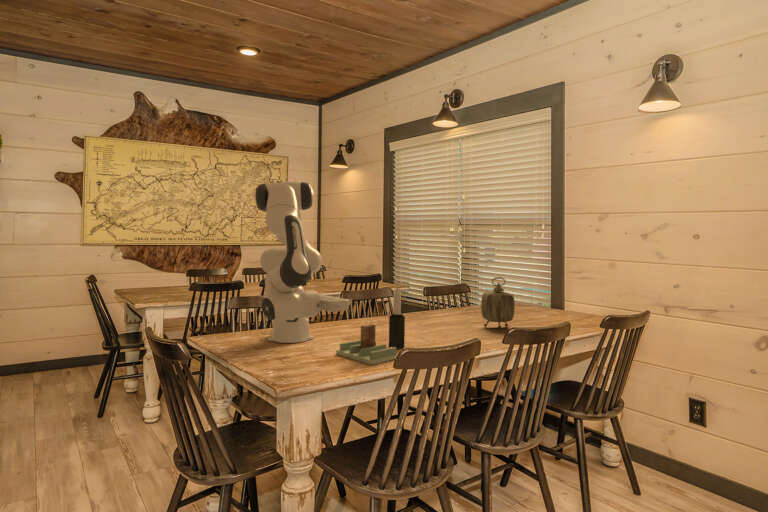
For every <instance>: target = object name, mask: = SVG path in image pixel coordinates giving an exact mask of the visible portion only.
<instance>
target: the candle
mask: <svg viewBox="0 0 768 512" xmlns="http://www.w3.org/2000/svg"><path fill="white" fill-rule="evenodd" d="M401 309H402V293H401V292H400V289H399V285H398V284H397V285H396V288H395V291H394V292H393V313H391V314H390V315H388V316H389V317H388V348H389V347H397V348H400V349H402V348H401V347H404V348H405V334H406V332H405V331H406V330H405V328H406V326H405V325H406V324H405V322H406V321H405V320H406V319H405V318H406V317H405V315H404V314H403V313H401V311H402V310H401Z"/></svg>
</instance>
